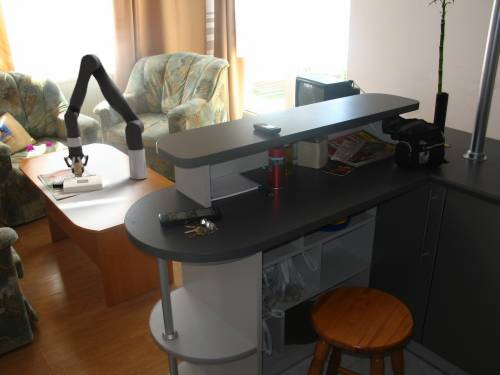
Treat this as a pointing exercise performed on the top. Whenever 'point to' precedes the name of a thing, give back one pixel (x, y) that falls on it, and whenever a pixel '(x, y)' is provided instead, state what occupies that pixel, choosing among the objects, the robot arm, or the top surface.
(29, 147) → the toy block
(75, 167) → the oak peg
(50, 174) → the top surface
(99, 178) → the socket board
